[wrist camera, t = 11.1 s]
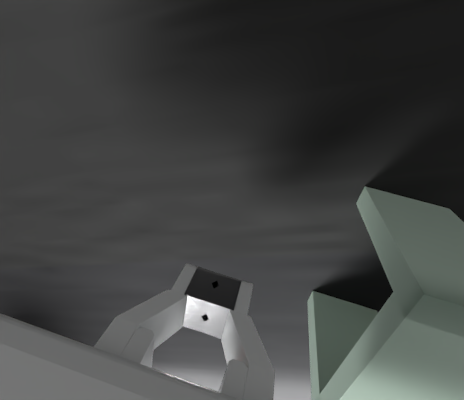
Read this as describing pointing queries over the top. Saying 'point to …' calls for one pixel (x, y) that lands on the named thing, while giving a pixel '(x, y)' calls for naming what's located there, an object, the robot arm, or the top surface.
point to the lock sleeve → (397, 311)
